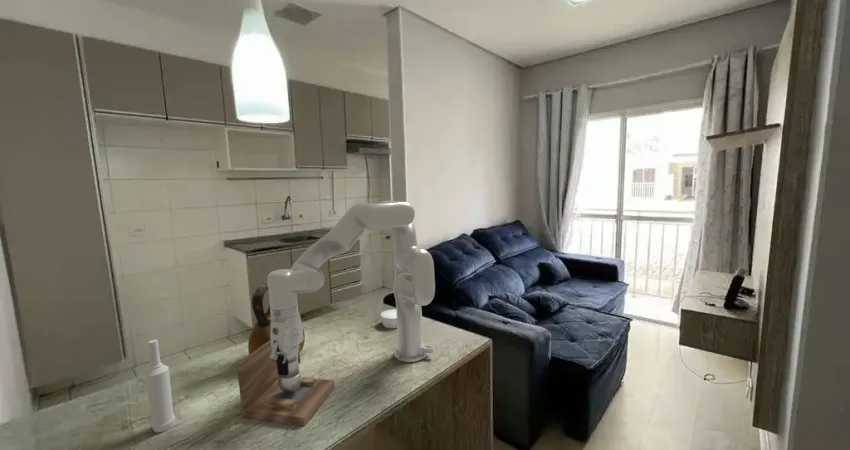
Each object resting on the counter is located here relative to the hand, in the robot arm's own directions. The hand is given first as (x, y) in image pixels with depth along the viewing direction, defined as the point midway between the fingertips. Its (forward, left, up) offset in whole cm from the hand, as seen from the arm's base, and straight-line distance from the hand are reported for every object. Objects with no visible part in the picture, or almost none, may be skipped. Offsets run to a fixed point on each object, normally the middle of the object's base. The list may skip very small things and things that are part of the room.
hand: (289, 368), depth 104 cm
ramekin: (-14, -60, -11) cm, 62 cm away
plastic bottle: (0, 0, -7) cm, 7 cm away
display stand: (0, 0, -11) cm, 11 cm away
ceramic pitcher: (+21, -24, -11) cm, 34 cm away
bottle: (+29, +16, -11) cm, 35 cm away
